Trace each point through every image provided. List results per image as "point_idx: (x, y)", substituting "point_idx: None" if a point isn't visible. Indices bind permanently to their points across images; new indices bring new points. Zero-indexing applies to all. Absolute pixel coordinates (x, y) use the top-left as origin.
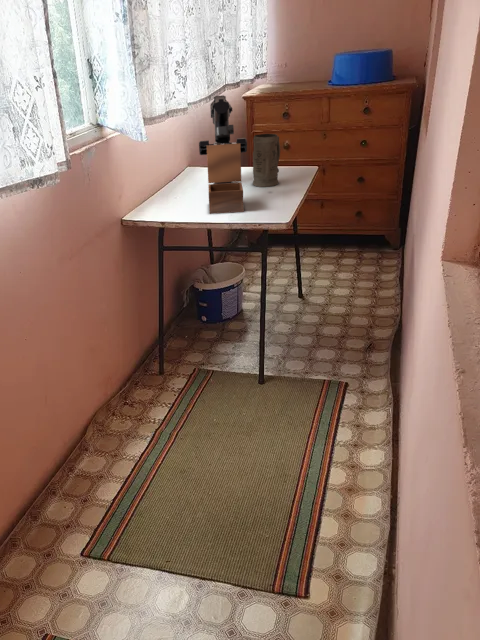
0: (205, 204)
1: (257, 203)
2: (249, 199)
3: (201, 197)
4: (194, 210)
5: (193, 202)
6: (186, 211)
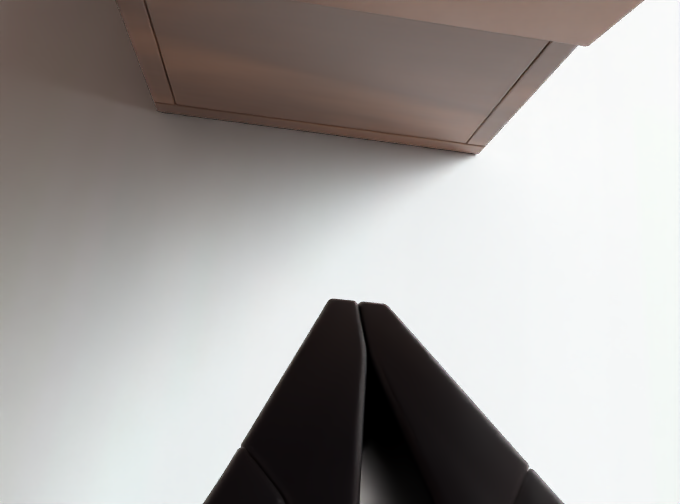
0: (514, 184)
1: (5, 42)
2: (43, 218)
3: (554, 484)
4: (608, 30)
5: (629, 297)
6: (671, 26)
